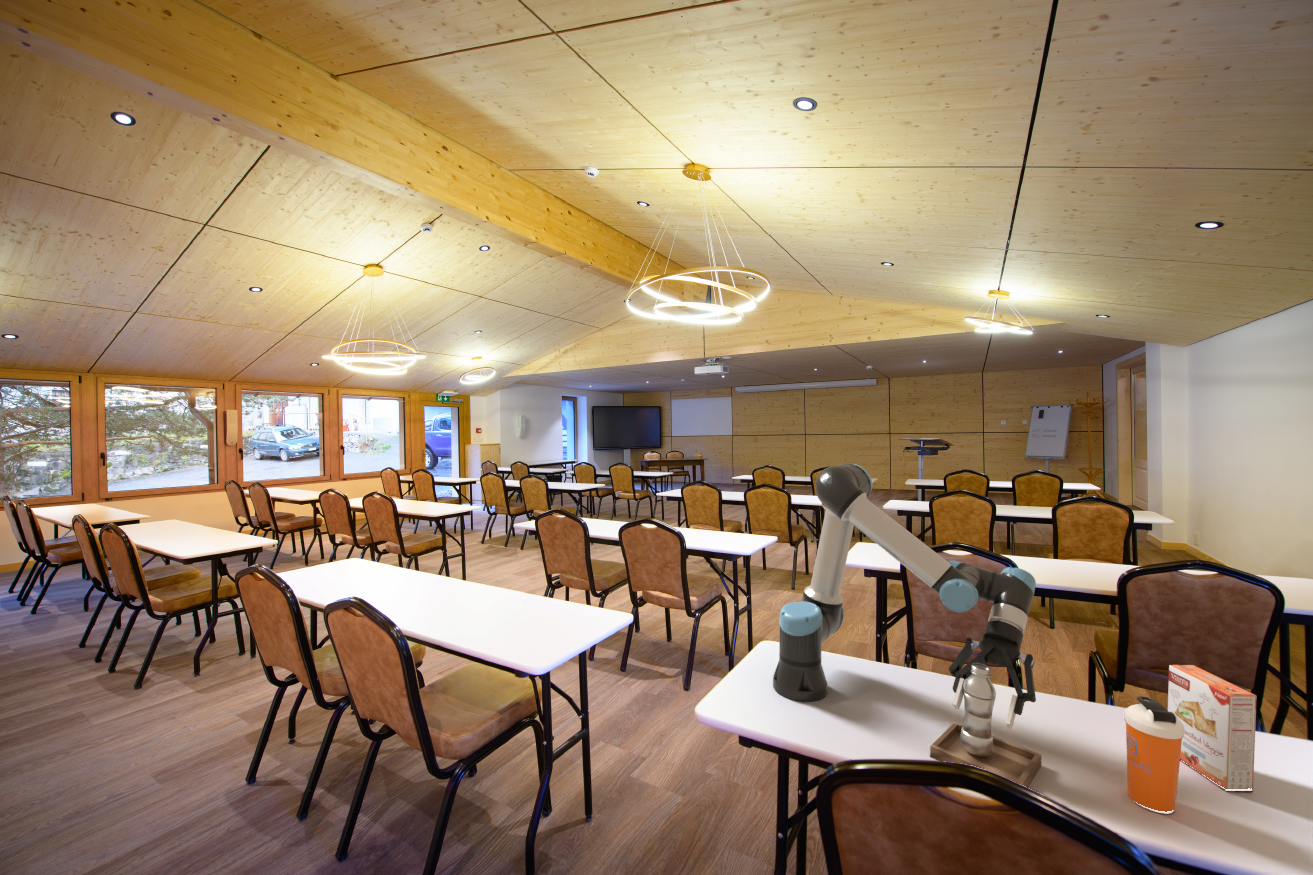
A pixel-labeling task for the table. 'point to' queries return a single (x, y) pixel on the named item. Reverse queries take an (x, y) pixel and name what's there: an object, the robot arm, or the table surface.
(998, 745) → the walnut tray
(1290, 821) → the table surface
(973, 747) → the plastic bottle
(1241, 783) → the cracker box
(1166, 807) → the shaker bottle
